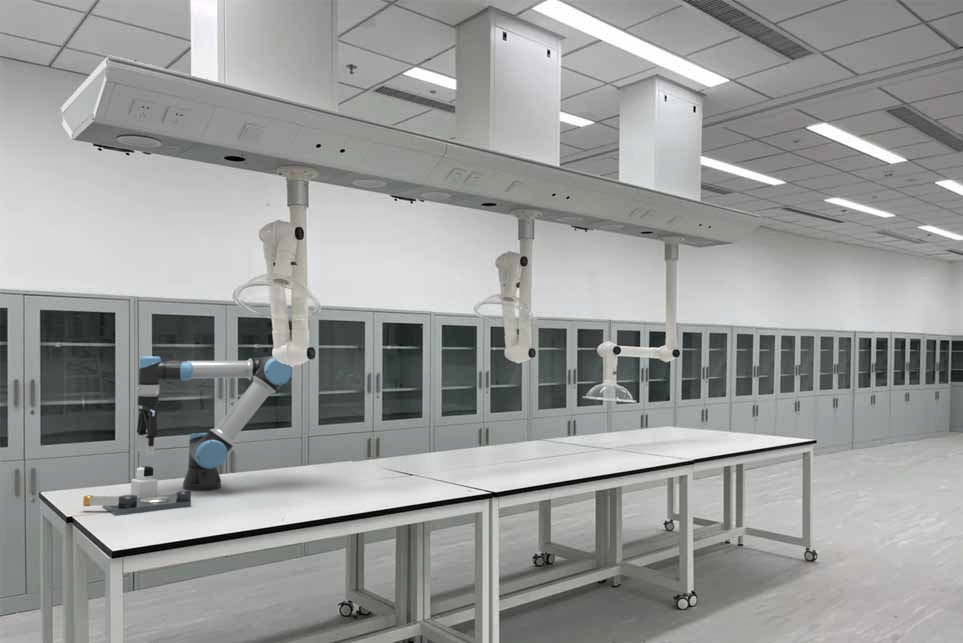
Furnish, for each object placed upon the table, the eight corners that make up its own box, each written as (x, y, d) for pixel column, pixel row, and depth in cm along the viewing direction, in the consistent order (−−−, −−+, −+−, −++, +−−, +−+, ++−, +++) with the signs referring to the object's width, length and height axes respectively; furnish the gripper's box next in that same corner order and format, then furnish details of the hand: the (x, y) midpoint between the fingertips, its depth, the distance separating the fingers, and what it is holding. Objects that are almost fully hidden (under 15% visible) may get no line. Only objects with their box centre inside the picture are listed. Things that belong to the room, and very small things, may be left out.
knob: (192, 501, 269) (193, 492, 269) (179, 502, 265) (179, 493, 265) (185, 497, 274) (185, 489, 274) (171, 499, 271) (172, 490, 271)
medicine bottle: (148, 495, 286) (149, 464, 286) (157, 497, 281) (158, 467, 282) (130, 497, 280) (131, 466, 281) (138, 500, 276) (140, 469, 276)
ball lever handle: (139, 503, 261) (139, 494, 261) (133, 507, 255) (133, 498, 255) (87, 503, 259) (87, 494, 259) (79, 507, 253) (80, 497, 253)
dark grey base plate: (175, 498, 280) (175, 493, 280) (190, 506, 269) (190, 500, 269) (102, 507, 263) (103, 501, 263) (115, 515, 251) (115, 509, 251)
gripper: (129, 393, 288) (127, 450, 287) (147, 397, 272) (144, 457, 271) (149, 393, 293) (146, 449, 292) (167, 397, 277) (165, 455, 276)
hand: (145, 453), depth 282 cm, fingers open, 9 cm apart
